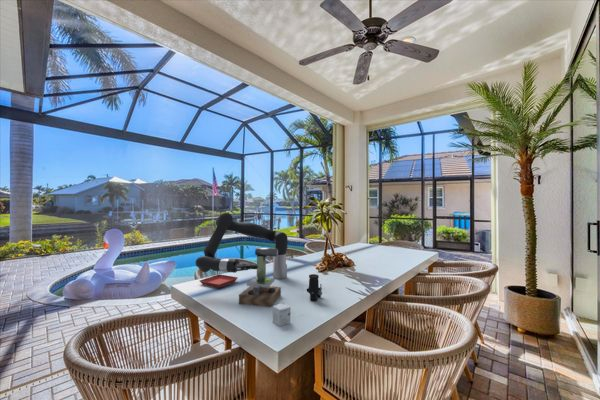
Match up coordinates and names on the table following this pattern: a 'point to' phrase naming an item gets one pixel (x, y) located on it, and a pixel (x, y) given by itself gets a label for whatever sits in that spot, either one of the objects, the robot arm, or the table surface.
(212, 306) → the table surface
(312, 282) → the scope
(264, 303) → the wooden block with holes
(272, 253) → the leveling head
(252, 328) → the table surface
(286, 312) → the skincare box
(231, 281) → the plant saucer
